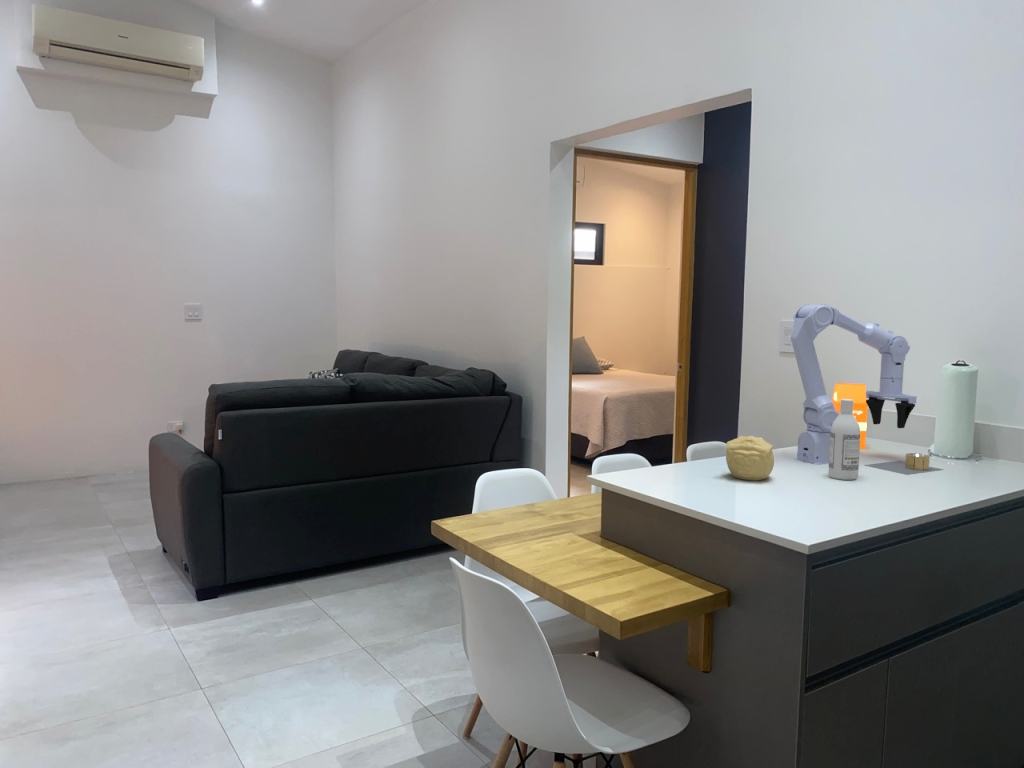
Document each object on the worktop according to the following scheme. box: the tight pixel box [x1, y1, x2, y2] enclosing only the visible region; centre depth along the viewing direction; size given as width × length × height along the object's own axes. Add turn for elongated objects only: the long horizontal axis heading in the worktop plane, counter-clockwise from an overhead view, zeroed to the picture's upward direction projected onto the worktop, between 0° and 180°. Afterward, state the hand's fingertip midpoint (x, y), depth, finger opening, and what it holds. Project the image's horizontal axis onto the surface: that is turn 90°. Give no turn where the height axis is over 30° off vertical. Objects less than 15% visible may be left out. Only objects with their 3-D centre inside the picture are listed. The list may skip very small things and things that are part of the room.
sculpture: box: [725, 435, 775, 481], centre depth 189 cm, size 11×12×11 cm
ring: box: [904, 452, 930, 471], centre depth 200 cm, size 5×5×4 cm
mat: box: [863, 460, 945, 476], centre depth 202 cm, size 15×13×1 cm
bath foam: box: [828, 399, 861, 481], centre depth 190 cm, size 7×7×20 cm
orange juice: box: [831, 382, 869, 450], centre depth 232 cm, size 8×9×20 cm
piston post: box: [912, 452, 923, 457], centre depth 200 cm, size 2×2×4 cm
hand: (888, 426), depth 212 cm, fingers open, 7 cm apart
